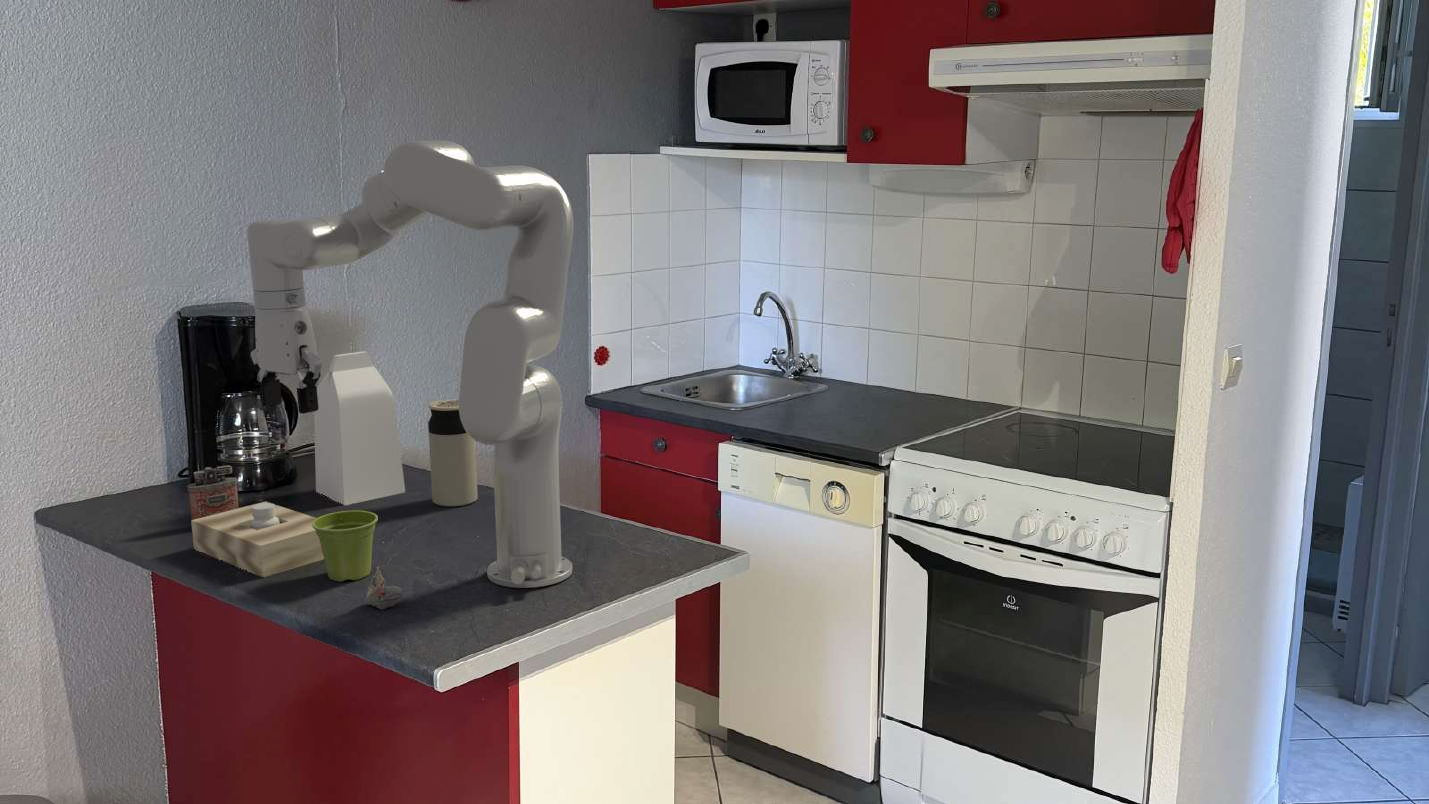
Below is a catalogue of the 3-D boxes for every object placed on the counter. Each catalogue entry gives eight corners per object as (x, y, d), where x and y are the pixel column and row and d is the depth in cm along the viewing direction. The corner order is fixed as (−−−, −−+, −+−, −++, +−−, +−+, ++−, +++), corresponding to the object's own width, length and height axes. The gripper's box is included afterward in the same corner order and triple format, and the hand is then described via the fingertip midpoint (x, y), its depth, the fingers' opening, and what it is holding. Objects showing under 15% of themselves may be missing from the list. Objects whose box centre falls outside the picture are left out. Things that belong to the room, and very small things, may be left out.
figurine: (409, 598, 175) (399, 558, 173) (400, 610, 170) (390, 570, 169) (373, 602, 175) (363, 563, 174) (363, 615, 171) (353, 576, 169)
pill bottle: (247, 556, 193) (242, 509, 191) (263, 547, 197) (259, 501, 195) (271, 558, 192) (267, 510, 190) (287, 549, 196) (283, 502, 194)
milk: (344, 505, 220) (334, 362, 214) (316, 492, 228) (305, 353, 222) (405, 492, 227) (396, 353, 222) (375, 480, 236) (366, 346, 230)
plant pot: (349, 590, 178) (344, 533, 176) (302, 579, 183) (298, 523, 181) (394, 570, 186) (391, 515, 184) (349, 560, 191) (345, 507, 189)
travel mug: (486, 498, 223) (482, 401, 219) (456, 510, 216) (451, 410, 213) (453, 492, 227) (448, 397, 223) (423, 503, 220) (417, 405, 216)
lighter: (195, 531, 205) (189, 474, 203) (188, 527, 208) (183, 469, 206) (244, 522, 210) (238, 465, 208) (237, 517, 213) (232, 461, 211)
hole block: (338, 554, 193) (336, 524, 192) (263, 577, 184) (260, 545, 182) (268, 530, 206) (265, 501, 205) (194, 550, 196) (191, 520, 195)
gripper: (334, 300, 188) (344, 410, 192) (268, 294, 199) (279, 398, 202) (291, 306, 182) (302, 419, 186) (226, 300, 193) (237, 407, 196)
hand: (290, 408), depth 194 cm, fingers open, 9 cm apart
